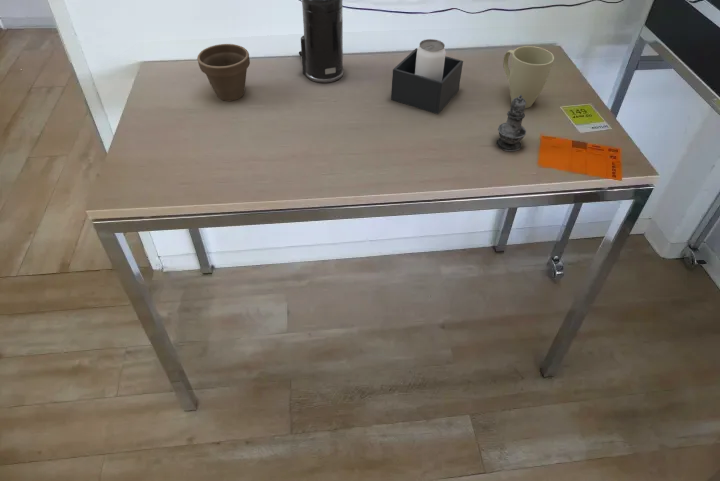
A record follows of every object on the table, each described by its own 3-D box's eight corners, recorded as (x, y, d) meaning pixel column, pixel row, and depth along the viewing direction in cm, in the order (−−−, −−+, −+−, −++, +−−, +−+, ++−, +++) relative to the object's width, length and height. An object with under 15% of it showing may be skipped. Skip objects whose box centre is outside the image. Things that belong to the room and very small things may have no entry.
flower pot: (195, 100, 131) (186, 60, 124) (221, 78, 138) (214, 39, 131) (238, 111, 128) (231, 71, 121) (262, 88, 136) (257, 48, 128)
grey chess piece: (491, 136, 123) (502, 87, 114) (518, 135, 123) (530, 86, 115) (498, 152, 118) (510, 102, 110) (526, 151, 119) (539, 101, 110)
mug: (543, 95, 135) (556, 47, 127) (538, 116, 129) (552, 67, 120) (498, 86, 138) (507, 40, 129) (491, 107, 131) (501, 59, 123)
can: (445, 93, 134) (452, 45, 125) (427, 102, 131) (433, 54, 122) (425, 83, 137) (430, 35, 129) (407, 92, 134) (411, 44, 125)
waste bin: (390, 99, 133) (392, 69, 127) (413, 77, 140) (416, 48, 135) (438, 114, 129) (442, 83, 123) (458, 90, 136) (463, 60, 131)
